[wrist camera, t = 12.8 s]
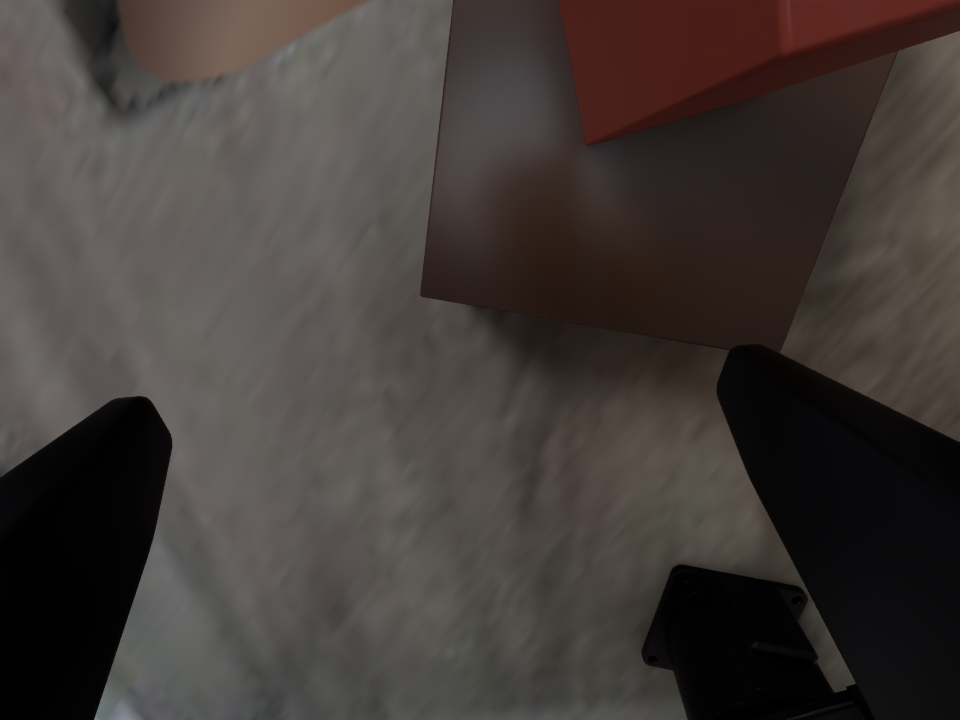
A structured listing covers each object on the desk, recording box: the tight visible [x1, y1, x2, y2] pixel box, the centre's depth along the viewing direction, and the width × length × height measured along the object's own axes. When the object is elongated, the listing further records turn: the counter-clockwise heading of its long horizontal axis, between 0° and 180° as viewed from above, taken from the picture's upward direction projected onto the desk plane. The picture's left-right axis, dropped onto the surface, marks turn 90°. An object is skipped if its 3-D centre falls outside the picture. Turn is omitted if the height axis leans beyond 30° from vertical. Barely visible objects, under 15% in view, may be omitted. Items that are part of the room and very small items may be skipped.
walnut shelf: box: [420, 0, 898, 353], centre depth 17 cm, size 13×12×4 cm
